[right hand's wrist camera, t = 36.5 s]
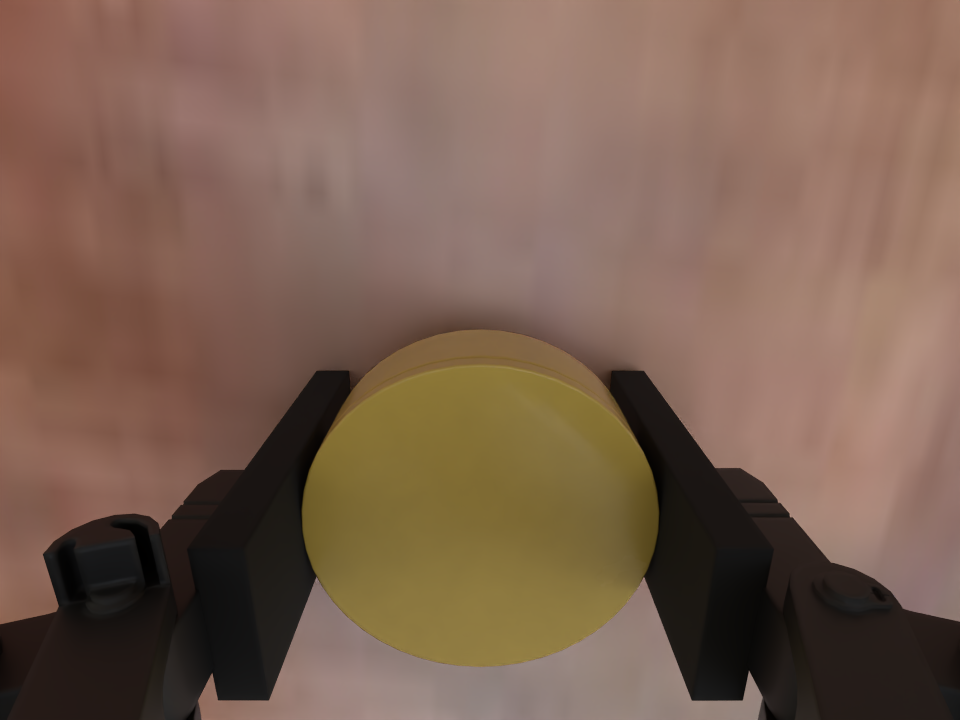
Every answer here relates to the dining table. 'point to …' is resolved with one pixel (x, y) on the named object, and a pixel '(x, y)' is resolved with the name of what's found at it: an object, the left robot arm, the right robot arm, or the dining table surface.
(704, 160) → the dining table surface
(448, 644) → the lid
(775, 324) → the dining table surface
